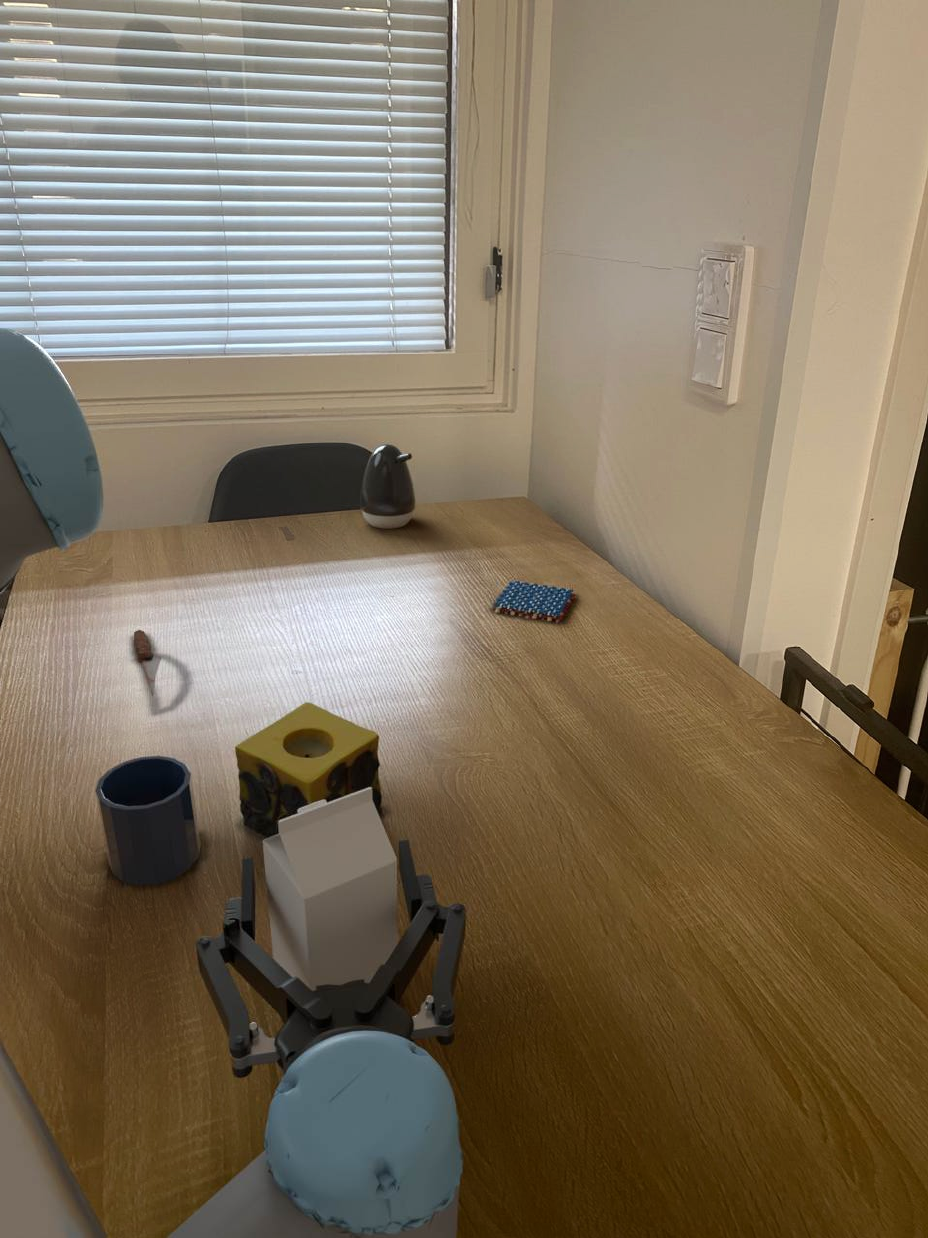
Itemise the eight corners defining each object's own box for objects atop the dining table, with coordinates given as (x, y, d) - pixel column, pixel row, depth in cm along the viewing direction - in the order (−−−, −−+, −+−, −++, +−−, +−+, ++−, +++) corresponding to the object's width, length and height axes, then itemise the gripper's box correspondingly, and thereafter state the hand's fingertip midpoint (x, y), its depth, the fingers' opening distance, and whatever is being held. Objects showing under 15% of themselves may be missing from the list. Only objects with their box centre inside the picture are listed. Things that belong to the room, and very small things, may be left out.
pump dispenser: (394, 539, 162) (393, 455, 155) (349, 527, 167) (346, 445, 160) (427, 523, 169) (427, 443, 163) (383, 512, 174) (381, 434, 168)
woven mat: (561, 628, 131) (562, 615, 130) (490, 616, 134) (491, 603, 133) (576, 599, 140) (577, 587, 139) (510, 589, 143) (511, 577, 142)
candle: (312, 779, 97) (307, 699, 92) (385, 815, 92) (383, 732, 87) (239, 829, 89) (230, 743, 85) (314, 871, 84) (308, 782, 80)
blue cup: (93, 881, 82) (76, 800, 78) (141, 826, 89) (128, 750, 85) (173, 897, 81) (160, 816, 77) (215, 840, 88) (206, 763, 84)
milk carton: (399, 1012, 70) (397, 813, 62) (315, 1056, 66) (301, 851, 58) (355, 953, 75) (348, 762, 67) (275, 990, 72) (257, 794, 63)
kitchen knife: (195, 704, 109) (151, 708, 107) (195, 716, 109) (151, 720, 107) (169, 626, 126) (131, 627, 123) (169, 636, 126) (131, 638, 124)
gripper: (141, 1208, 50) (174, 919, 69) (552, 1133, 54) (475, 882, 74) (122, 1118, 47) (162, 841, 66) (561, 1046, 51) (478, 807, 70)
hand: (327, 862), depth 70 cm, fingers open, 11 cm apart
